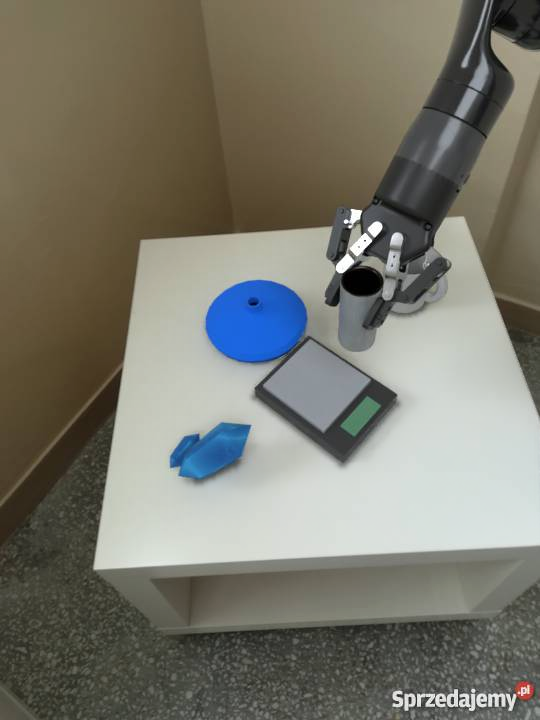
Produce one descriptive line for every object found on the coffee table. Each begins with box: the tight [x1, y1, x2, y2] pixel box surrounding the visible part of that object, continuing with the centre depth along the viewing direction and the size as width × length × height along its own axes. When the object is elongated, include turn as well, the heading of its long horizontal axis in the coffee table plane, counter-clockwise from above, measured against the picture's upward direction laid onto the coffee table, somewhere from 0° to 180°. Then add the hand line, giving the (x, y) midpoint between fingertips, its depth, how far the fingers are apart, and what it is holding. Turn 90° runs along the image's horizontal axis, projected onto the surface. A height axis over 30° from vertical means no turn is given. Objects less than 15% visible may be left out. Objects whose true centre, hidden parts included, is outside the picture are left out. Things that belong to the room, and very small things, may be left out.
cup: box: [382, 255, 449, 314], centre depth 81 cm, size 7×10×9 cm
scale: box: [254, 335, 398, 464], centre depth 75 cm, size 16×12×3 cm
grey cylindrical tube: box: [337, 264, 384, 353], centre depth 60 cm, size 4×4×10 cm
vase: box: [205, 279, 308, 364], centre depth 81 cm, size 16×16×7 cm
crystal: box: [169, 421, 252, 480], centre depth 69 cm, size 7×9×12 cm
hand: (349, 316), depth 59 cm, fingers closed on grey cylindrical tube, 4 cm apart
